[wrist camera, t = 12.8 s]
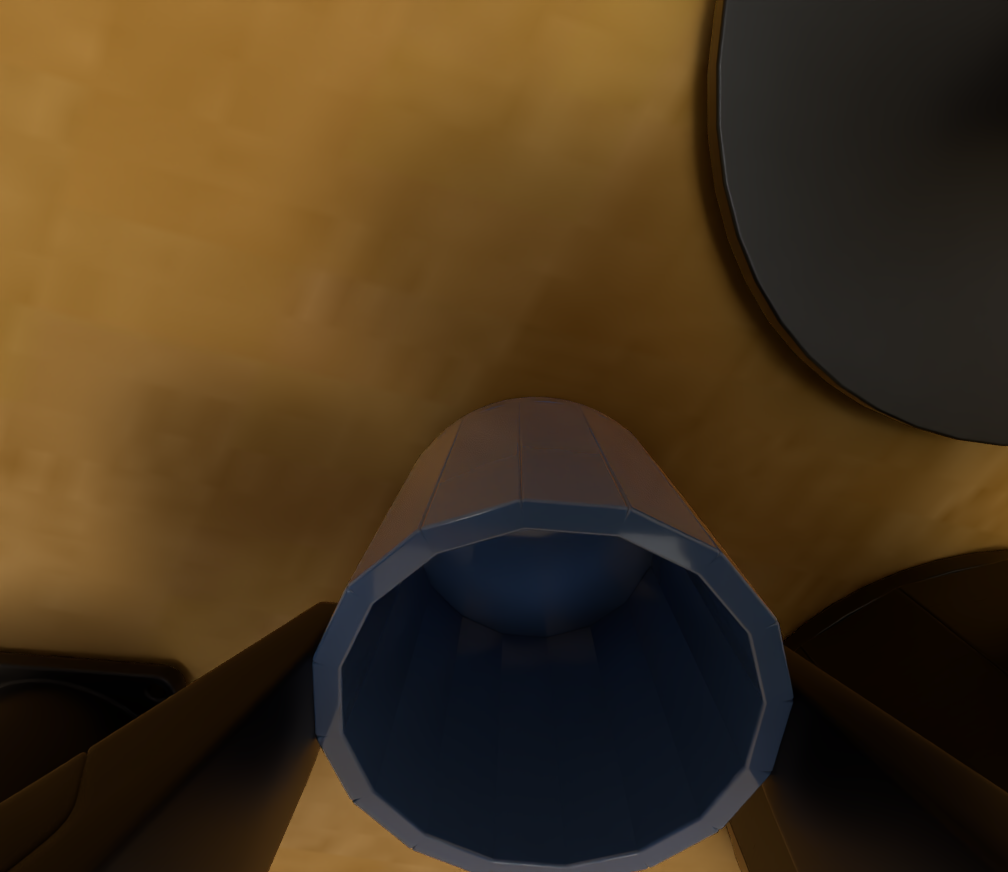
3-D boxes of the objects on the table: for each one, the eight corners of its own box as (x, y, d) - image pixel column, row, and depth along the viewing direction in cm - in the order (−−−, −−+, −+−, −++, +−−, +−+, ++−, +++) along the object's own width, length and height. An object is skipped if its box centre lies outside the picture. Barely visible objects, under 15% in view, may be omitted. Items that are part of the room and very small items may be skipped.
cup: (401, 624, 13) (319, 866, 7) (405, 385, 11) (300, 482, 6) (644, 644, 13) (735, 899, 7) (689, 407, 11) (850, 525, 6)
